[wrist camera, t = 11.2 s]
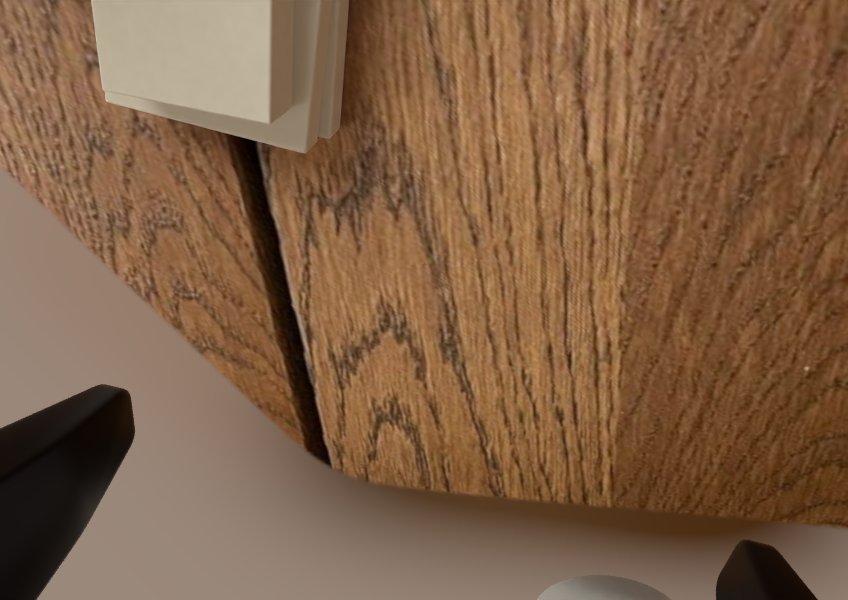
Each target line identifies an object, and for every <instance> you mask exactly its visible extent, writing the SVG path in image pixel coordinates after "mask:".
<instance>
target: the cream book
mask: <svg viewBox="0 0 848 600" xmlns="http://www.w3.org/2000/svg"><path fill="white" fill-rule="evenodd" d="M91 2H92V10H93V18H94V26H95V34H96V42H97V50H98V58H99V66H100V74H101V82H102V89H103V90H104V91H107V92H111V93H116V94H121V95H126V96H131V97H136V98H141V99H146V100H151V101H156V102H161V103H166V104H170V105H175V106H180V107H185V108H190V109H195V110H200V111H205V112H210V113H215V114H220V115H225V116H229V117H234V118H239V119H244V120H249V121H254V122H259V123H264V124H272V123H273V122H274V121H275V120H277V119H278V118H279V117H281V116H282V115H283V114H284V113H286V112H287V111H288V110H289V109H291V107H292V73H293V39H294V4H295V0H91Z"/></svg>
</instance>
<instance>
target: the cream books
mask: <svg viewBox="0 0 848 600" xmlns="http://www.w3.org/2000/svg"><path fill="white" fill-rule="evenodd" d="M348 10H349V0H295V4H294V39H293V73H292V107H291V109H289V110H288V111H287V112H286V113H284V114H283V115H282V116H281V117H279V118H278V119H277V120H275V121H274V122H273V123H272V124H264V123H259V122H254V121H249V120H244V119H239V118H234V117H229V116H225V115H220V114H215V113H210V112H205V111H200V110H195V109H190V108H185V107H180V106H175V105H170V104H166V103H161V102H156V101H151V100H146V99H141V98H136V97H131V96H126V95H121V94H116V93H111V92H107V91H105V99H106V102H108V103H112V104H116V105H120V106H124V107H127V108H131V109H135V110H139V111H143V112H147V113H150V114H154V115H158V116H162V117H166V118H170V119H174V120H177V121H181V122H185V123H189V124H193V125H197V126H200V127H204V128H208V129H212V130H216V131H220V132H223V133H227V134H231V135H235V136H239V137H243V138H246V139H250V140H254V141H258V142H262V143H266V144H270V145H273V146H277V147H281V148H285V149H289V150H293V151H296V152H300V153H307V152H308V151H309V150H310V149H311V148H312V147H313V146H314V145H315V144H316V143H317V139H318V137H321V138H326V139H330V138H331V137H332V136H333V135H334V134H335V133H336V132H337V131H338V130H339V128H340V120H341V107H342V93H343V79H344V65H345V51H346V37H347V23H348Z"/></svg>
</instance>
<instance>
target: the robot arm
mask: <svg viewBox="0 0 848 600" xmlns="http://www.w3.org/2000/svg"><path fill="white" fill-rule="evenodd" d="M134 434H135V426H134V418H133V411H132V403H131V397H130V394H129V392H128V391H127V390H125V389H122V388H118V387H113V386H110V385H103V384H101V385H97V386H95V387H92V388H90V389H88V390H86V391H84V392H81V393H79V394H77V395H74V396H72V397H70V398H68V399H65V400H63V401H61V402H59V403H56V404H54V405H52V406H50V407H48V408H45V409H43V410H41V411H39V412H36V413H34V414H32V415H29V416H27V417H25V418H23V419H21V420H18V421H16V422H14V423H12V424H9V425H7V426H5V427H3V428H0V600H37V598H38V597H39V595H40V594H41V592H42V591H43V589H44V588H45V587H46V585H47V584H48V582H49V581H50V579H51V578H52V577H53V575H54V574H55V572H56V571H57V569H58V568H59V566H60V565H61V564H62V562H63V561H64V559H65V558H66V556H67V555H68V554H69V552H70V551H71V549H72V548H73V546H74V545H75V543H76V542H77V540H78V539H79V537H80V536H81V534H82V533H83V531H84V529H85V528H86V526H87V524H88V523H89V521H90V519H91V517H92V516H93V514H94V512H95V510H96V508H97V506H98V505H99V503H100V501H101V499H102V497H103V496H104V494H105V492H106V490H107V488H108V486H109V485H110V483H111V481H112V479H113V477H114V475H115V474H116V472H117V470H118V468H119V467H120V465H121V463H122V461H123V459H124V458H125V456H126V454H127V452H128V450H129V448H130V447H131V444H132V442H133V439H134ZM716 600H818V599H817V598H816V597H815V596H814V594H813V593H812V592H811V591H810V590H809V588H808V587H807V586H806V585H805V583H804V582H803V581H802V580H801V579H800V578H799V576H798V575H797V574H796V573H795V571H794V570H793V569H792V568H791V566H790V565H789V564H788V563H787V561H786V560H785V559H784V558H783V556H782V555H781V554H780V553H779V552H778V551H777V550H776V549H775V548H774V547H772V546H770V545H766V544H763V543H758V542H754V541H750V540H742V541H740V542H739V543H738V544H737V546H736V547H735V549H734V551H733V552H732V554H731V556H730V557H729V559H728V561H727V563H726V564H725V566H724V568H723V569H722V571H721V573H720V575H719V577H718V581H717V586H716Z"/></svg>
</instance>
